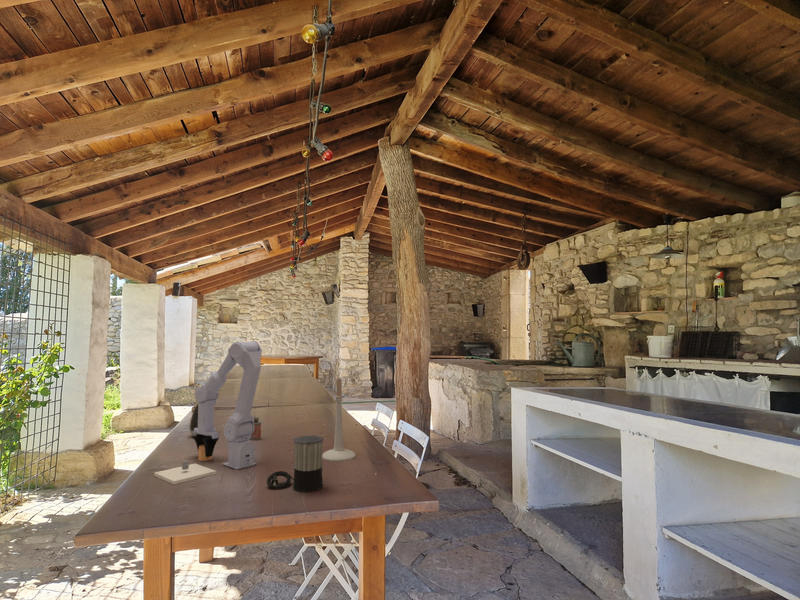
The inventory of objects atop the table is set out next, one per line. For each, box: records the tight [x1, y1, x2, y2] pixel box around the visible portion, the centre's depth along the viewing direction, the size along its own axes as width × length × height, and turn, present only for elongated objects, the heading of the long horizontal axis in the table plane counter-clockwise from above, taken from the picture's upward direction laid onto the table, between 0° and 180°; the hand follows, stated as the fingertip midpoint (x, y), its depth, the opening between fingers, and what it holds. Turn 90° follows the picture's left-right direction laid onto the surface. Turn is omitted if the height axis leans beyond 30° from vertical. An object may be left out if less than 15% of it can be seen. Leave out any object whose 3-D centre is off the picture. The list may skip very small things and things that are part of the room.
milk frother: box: [266, 434, 324, 493], centre depth 147 cm, size 14×16×15 cm
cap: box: [197, 444, 214, 462], centre depth 178 cm, size 5×5×5 cm
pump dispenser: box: [189, 404, 198, 437], centre depth 216 cm, size 10×10×15 cm
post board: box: [153, 459, 217, 485], centre depth 159 cm, size 14×14×5 cm
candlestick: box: [322, 377, 357, 462], centre depth 182 cm, size 13×13×30 cm
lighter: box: [249, 415, 262, 441], centre depth 209 cm, size 8×3×10 cm, turn 84°
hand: (205, 455), depth 178 cm, fingers closed on cap, 5 cm apart
